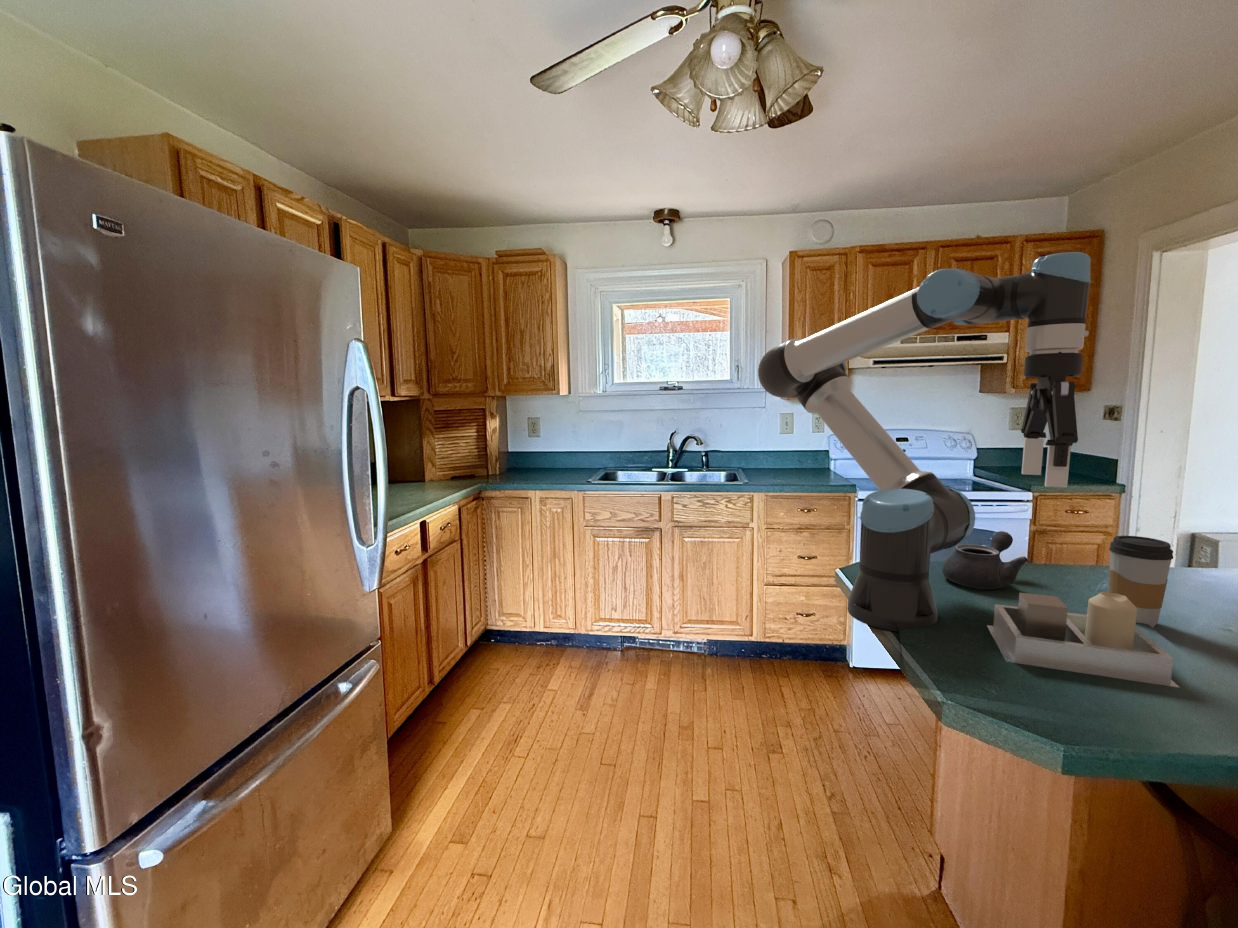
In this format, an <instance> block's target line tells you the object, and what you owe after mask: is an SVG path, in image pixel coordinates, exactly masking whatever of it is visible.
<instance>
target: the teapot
mask: <svg viewBox="0 0 1238 928" xmlns="http://www.w3.org/2000/svg"><path fill="white" fill-rule="evenodd" d="M990 542H991V546H990V547H989V546H985V545H981V544H957V545H956V546H954V551H953V552H952V554H950V556H949V557H948V558H947V559H946V560H945V562H944V564H943V567H942V575H943V576H944V577H945V579H948V581H951V582H953V583H955V584H958V585H961V586H964V587H969V588H972V589H980V590H981V589H983V590H991V589H992V590H993V589H1001V588H1004V587H1006V586H1009V585H1010V584H1013V583H1014V582H1015V581H1016V578H1017V575H1018V574H1019V572H1020V570H1021V568H1022V566H1024V565H1025V564H1027V563H1029V561H1030V560H1029V559H1028V558H1027V557H1026V556H1023V555H1022V556H1019V557H1017V558H1014V559H1012V560H1010V561H1002V558H1001V557H1000V554H1001V553H1002V552H1004V551H1006V550H1008V549H1009V548H1010V547H1012V544H1013V542H1014V539H1013V536H1012V535H1011V534H1010V533H1009V532H1007V531H1002V530H1000V531H997V532H996V533H994V535H993V536H992V538H991V541H990Z"/></svg>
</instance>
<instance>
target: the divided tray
mask: <svg viewBox="0 0 1238 928" xmlns="http://www.w3.org/2000/svg"><path fill="white" fill-rule="evenodd" d="M993 613H994V614H993V625H989V624H987V625H986V627H987V629H988V631H989V633H990V634H991V637H992V638H993V640H994V642H995V644H996V646H997V648H998V649H999V650H1000V653H1001V654H1002V657H1003V659H1004V660H1005V662H1007V663H1013V664H1020V665H1027V666H1033V667H1039V668H1040V667H1041V668H1047V669H1053V670H1061V671H1067V672H1073V673H1079V674H1085V675H1086V674H1087V675H1093V676H1099V677H1100V676H1101V677H1107V678H1113V679H1119V680H1126V681H1133V682H1139V683H1145V684H1153V685H1158V686H1159V685H1160V686H1167V687H1171V688H1172V687H1173V688H1181V687H1180V686H1179V685H1178V684H1177V683H1176V682H1175V681H1173V680H1172V673H1173V667H1174V661H1175V660H1174V658H1173V656H1171V654H1169V653H1168V652H1166V651H1165V650H1164V649H1163V648H1161V646H1159V645H1158V644H1157V643H1156V642H1155V641H1154V640H1152V639H1151V638H1150V637H1149V636H1148V635H1147V634H1145V633H1144V632H1143V631H1142V630H1140V629H1139V628H1138V627H1137V626H1136V625H1135V633H1134V642H1133V651H1132V650H1125V649H1117V648H1110V647H1103V646H1095V645H1092V644H1091V643H1090V641H1089V640H1088V639H1087V638H1086V637H1085V630H1086V620H1087V614H1082V613H1072V612H1067V623H1066V633H1065V641H1058V640H1050V639H1043V638H1035V637H1028V636H1022V634H1021V633H1020V631H1019V630H1018V628H1017V615H1018V606H1015V605H1004V604H996V603H995V604H994V611H993Z"/></svg>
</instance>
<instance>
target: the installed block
mask: <svg viewBox="0 0 1238 928" xmlns="http://www.w3.org/2000/svg"><path fill="white" fill-rule="evenodd" d="M1017 605H1018V606H1017V607H1018V615H1017V628H1018V630H1019V631H1020V633H1021V634H1022V636H1028V637H1035V638H1043V639H1050V640H1058V641H1065V633H1066V623H1067V613H1069V608H1068V607H1067V606H1066V605H1065V603H1064V602H1063V601H1062V600H1061V599H1060V598H1059V597H1058V596H1054V595H1046V594H1045V595H1044V594H1037V593H1036V594H1035V593H1027V592H1019V593H1018V603H1017Z"/></svg>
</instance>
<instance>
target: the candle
mask: <svg viewBox="0 0 1238 928" xmlns="http://www.w3.org/2000/svg"><path fill="white" fill-rule="evenodd" d="M1086 615H1087V620H1086V630H1085V637H1086V638H1087V639H1088V640H1089V641H1090V643H1091V644H1092V645H1095V646H1103V647H1110V648H1117V649H1125V650H1132V651H1133V642H1134V633H1135V626H1136V625H1137V624H1136V623H1137V622H1136V616H1137V608H1136V607H1135V606H1134V605H1133V604H1132V602H1131V601H1130V600H1129V599H1128V598H1127V597H1126V596H1123V595H1120V594H1116V593H1112V594H1109V592H1107V591H1101V592H1100V593H1098V594H1097V595H1094V596H1092V597H1090V598H1089V599H1088V603H1087V613H1086Z"/></svg>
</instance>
